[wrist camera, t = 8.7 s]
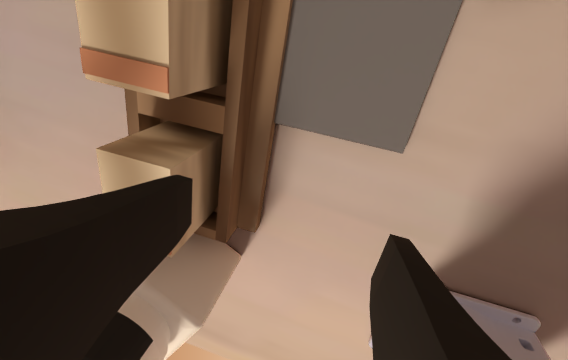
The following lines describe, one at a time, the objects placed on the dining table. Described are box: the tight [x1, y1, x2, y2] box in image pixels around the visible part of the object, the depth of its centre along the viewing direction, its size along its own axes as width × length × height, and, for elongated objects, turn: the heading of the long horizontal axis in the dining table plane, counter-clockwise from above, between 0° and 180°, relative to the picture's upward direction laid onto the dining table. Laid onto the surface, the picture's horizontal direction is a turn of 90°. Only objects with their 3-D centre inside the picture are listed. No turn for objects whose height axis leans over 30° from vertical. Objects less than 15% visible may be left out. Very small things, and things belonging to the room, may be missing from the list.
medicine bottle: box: [82, 234, 241, 360], centre depth 20 cm, size 7×7×12 cm
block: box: [96, 121, 223, 258], centre depth 17 cm, size 4×6×6 cm
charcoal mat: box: [274, 0, 462, 154], centre depth 16 cm, size 8×9×1 cm
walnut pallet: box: [125, 0, 293, 243], centre depth 18 cm, size 10×17×3 cm, turn 171°
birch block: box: [75, 0, 233, 99], centre depth 13 cm, size 4×6×6 cm
